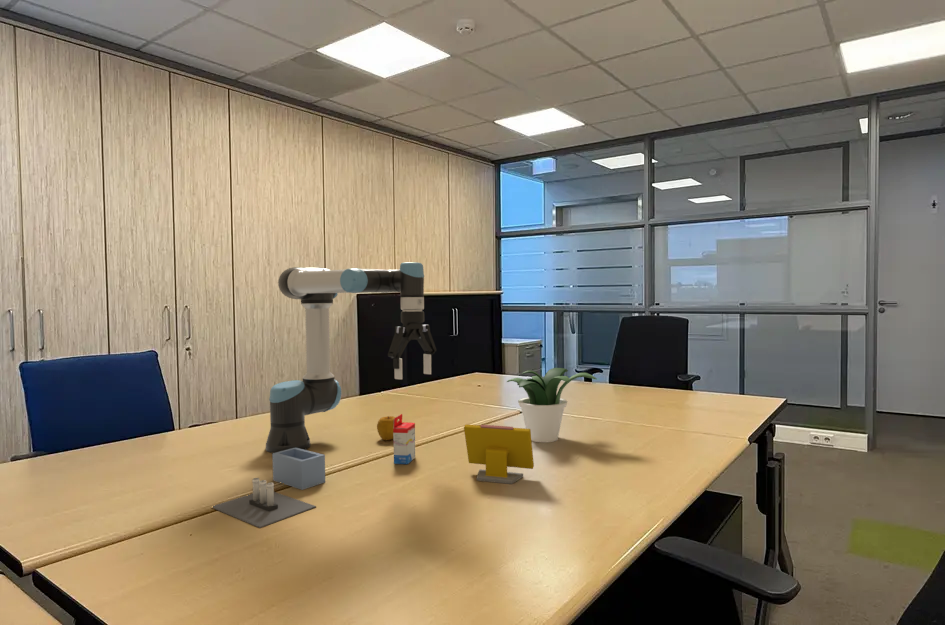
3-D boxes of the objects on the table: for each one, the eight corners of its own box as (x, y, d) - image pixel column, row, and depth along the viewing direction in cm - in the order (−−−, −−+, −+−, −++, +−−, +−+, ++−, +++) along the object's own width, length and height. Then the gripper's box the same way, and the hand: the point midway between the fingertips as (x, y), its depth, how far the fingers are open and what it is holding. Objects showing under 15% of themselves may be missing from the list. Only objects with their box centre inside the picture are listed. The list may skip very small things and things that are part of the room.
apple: (393, 443, 208) (392, 419, 208) (372, 441, 211) (372, 418, 210) (403, 437, 216) (403, 414, 216) (383, 436, 219) (383, 413, 218)
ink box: (407, 464, 181) (407, 419, 181) (393, 464, 182) (392, 418, 182) (415, 457, 190) (415, 413, 189) (401, 456, 191) (401, 413, 190)
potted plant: (591, 453, 191) (590, 378, 190) (492, 445, 203) (491, 374, 203) (603, 432, 221) (603, 367, 220) (516, 425, 233) (516, 364, 232)
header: (211, 507, 146) (210, 481, 146) (266, 490, 159) (266, 466, 159) (259, 528, 133) (259, 499, 133) (316, 507, 146) (315, 481, 145)
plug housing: (273, 480, 167) (272, 453, 167) (296, 473, 174) (295, 447, 173) (302, 489, 159) (301, 461, 159) (325, 482, 165) (324, 454, 165)
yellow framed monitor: (534, 477, 168) (533, 424, 167) (527, 485, 160) (527, 430, 160) (470, 471, 174) (469, 420, 174) (461, 479, 167) (460, 425, 166)
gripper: (393, 311, 170) (394, 382, 171) (446, 309, 190) (447, 372, 190) (375, 311, 174) (376, 380, 175) (429, 309, 194) (430, 371, 195)
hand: (413, 376), depth 183 cm, fingers open, 13 cm apart
